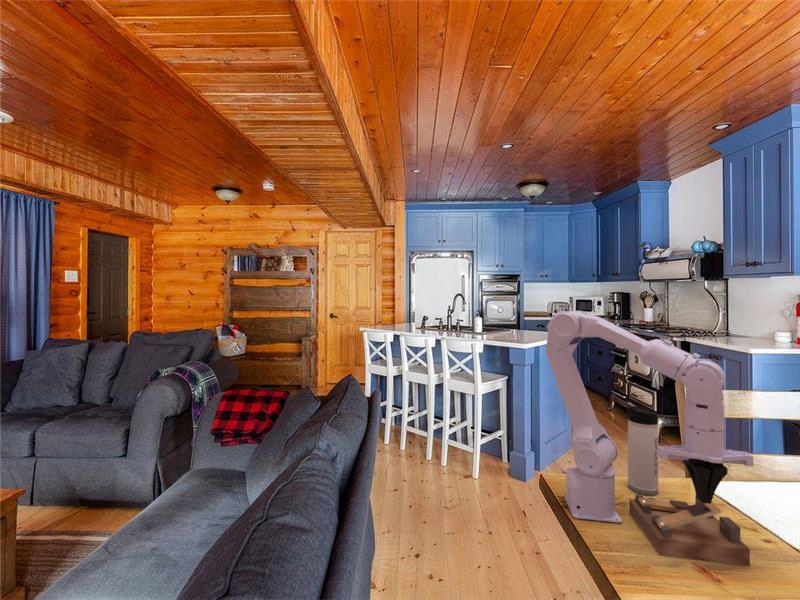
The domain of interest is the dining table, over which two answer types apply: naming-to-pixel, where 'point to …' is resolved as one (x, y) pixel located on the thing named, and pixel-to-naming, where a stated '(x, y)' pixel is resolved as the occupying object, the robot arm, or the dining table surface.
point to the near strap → (688, 515)
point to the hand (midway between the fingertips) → (703, 500)
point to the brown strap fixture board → (692, 536)
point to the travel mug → (642, 450)
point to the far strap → (664, 504)
